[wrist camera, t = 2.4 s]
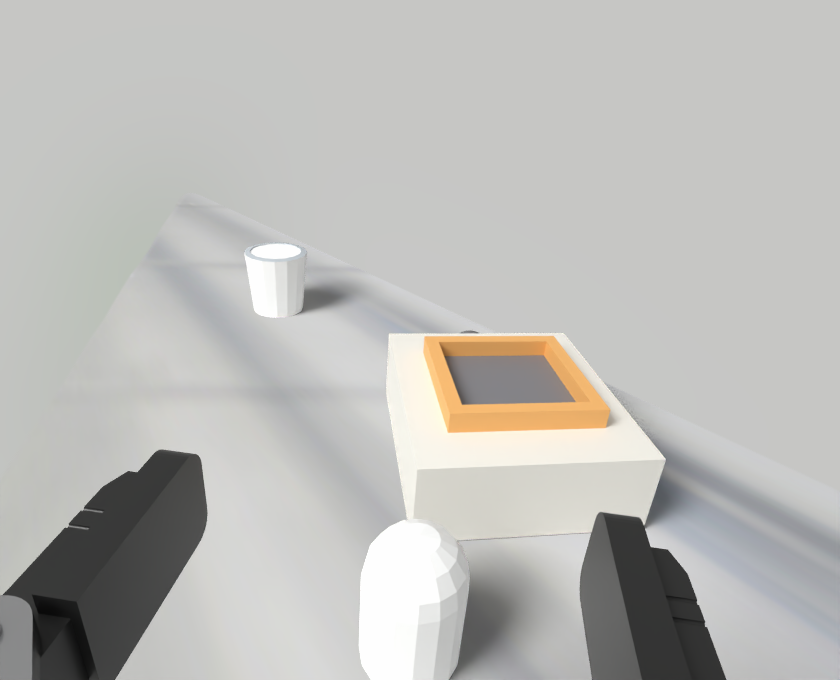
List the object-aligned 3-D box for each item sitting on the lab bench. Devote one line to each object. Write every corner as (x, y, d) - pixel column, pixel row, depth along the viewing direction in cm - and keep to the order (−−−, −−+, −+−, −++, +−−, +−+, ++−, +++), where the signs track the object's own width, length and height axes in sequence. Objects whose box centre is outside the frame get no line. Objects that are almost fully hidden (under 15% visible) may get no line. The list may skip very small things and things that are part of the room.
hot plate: (542, 373, 58) (555, 304, 54) (643, 529, 39) (672, 440, 36) (383, 375, 55) (386, 303, 52) (411, 543, 37) (419, 449, 33)
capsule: (441, 714, 27) (457, 600, 24) (340, 673, 29) (341, 558, 25) (471, 622, 32) (488, 514, 28) (383, 590, 33) (388, 484, 30)
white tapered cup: (235, 308, 66) (230, 250, 63) (280, 291, 72) (277, 237, 68) (276, 325, 63) (273, 265, 60) (320, 307, 68) (319, 251, 65)
